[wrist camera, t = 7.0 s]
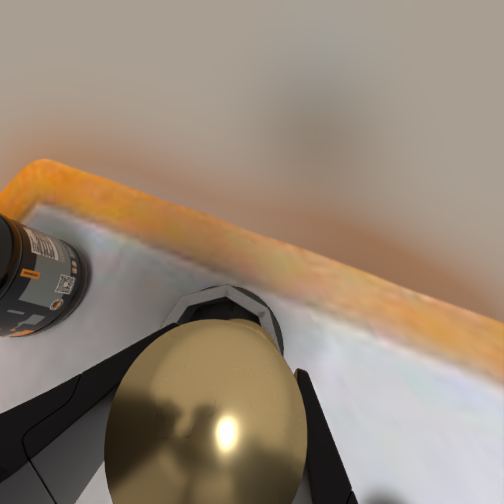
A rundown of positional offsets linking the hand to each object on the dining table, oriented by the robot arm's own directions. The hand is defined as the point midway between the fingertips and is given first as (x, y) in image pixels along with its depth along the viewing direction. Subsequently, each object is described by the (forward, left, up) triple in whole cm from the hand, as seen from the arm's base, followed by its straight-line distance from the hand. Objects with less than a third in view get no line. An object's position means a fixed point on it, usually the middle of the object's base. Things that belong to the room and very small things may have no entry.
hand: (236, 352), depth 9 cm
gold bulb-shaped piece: (-1, -1, -7) cm, 7 cm away
